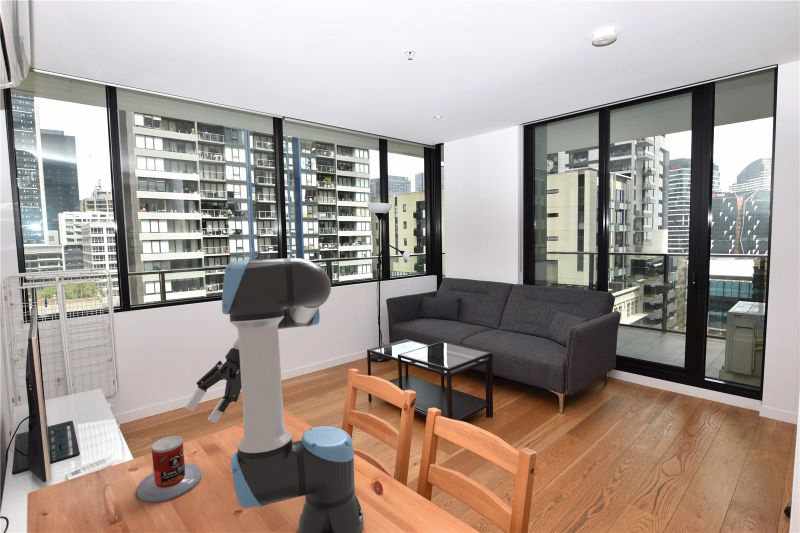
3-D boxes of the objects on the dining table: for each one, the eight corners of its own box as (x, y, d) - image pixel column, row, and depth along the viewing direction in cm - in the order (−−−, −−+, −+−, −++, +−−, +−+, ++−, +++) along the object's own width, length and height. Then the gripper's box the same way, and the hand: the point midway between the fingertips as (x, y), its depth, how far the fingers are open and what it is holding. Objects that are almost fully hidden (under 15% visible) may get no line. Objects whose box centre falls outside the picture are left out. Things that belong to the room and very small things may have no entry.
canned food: (162, 492, 112) (159, 453, 111) (149, 481, 117) (146, 444, 116) (190, 477, 118) (187, 441, 117) (177, 468, 123) (174, 433, 122)
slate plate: (210, 481, 118) (210, 478, 118) (147, 511, 107) (147, 507, 106) (189, 460, 129) (188, 457, 129) (129, 485, 117) (129, 481, 117)
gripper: (273, 365, 129) (231, 432, 118) (229, 352, 144) (189, 409, 134) (257, 353, 124) (212, 421, 114) (213, 340, 139) (170, 399, 129)
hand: (199, 415), depth 124 cm, fingers open, 13 cm apart
